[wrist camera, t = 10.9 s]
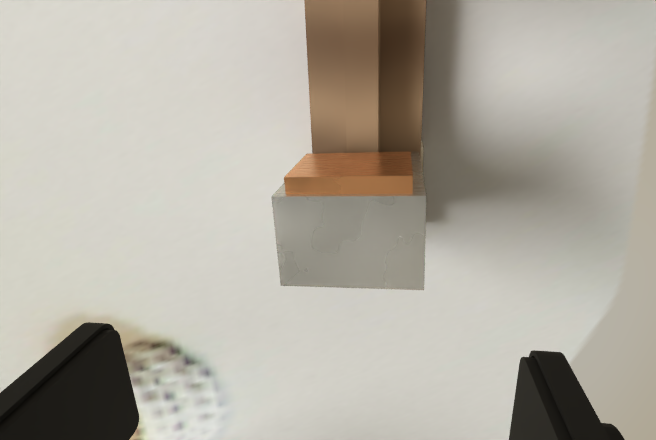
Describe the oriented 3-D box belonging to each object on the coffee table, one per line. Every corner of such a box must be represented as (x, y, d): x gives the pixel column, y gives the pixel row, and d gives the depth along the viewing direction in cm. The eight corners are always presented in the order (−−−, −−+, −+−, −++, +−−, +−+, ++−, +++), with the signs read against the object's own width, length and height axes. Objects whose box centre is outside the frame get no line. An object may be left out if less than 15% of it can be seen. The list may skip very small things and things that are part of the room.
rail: (418, 223, 27) (427, 311, 18) (322, 222, 28) (283, 304, 19) (433, -178, 20) (460, -376, 11) (304, -162, 21) (227, -330, 12)
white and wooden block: (417, 220, 25) (423, 290, 18) (315, 219, 26) (280, 285, 19) (419, 138, 23) (426, 177, 16) (310, 141, 24) (269, 179, 17)
